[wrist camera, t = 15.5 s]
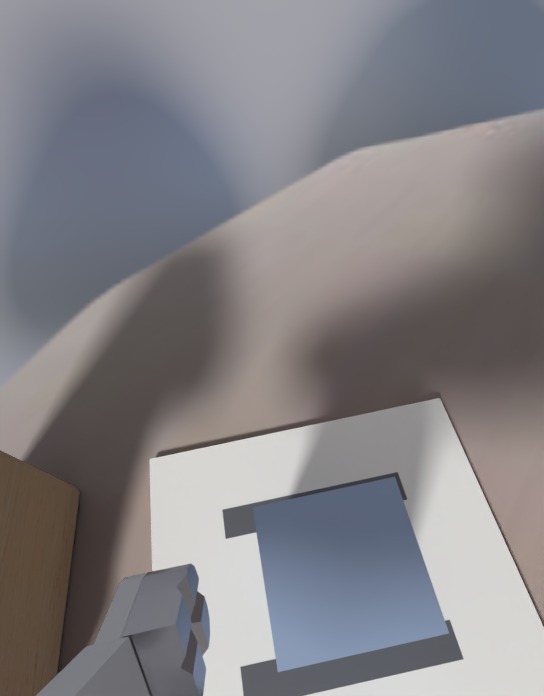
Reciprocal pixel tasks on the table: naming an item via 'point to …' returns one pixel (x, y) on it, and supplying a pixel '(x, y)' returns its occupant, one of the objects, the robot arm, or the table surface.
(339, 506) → the slate-blue block
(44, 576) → the decorative block
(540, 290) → the table surface
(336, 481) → the letter board
